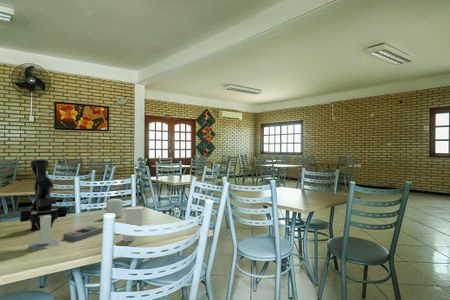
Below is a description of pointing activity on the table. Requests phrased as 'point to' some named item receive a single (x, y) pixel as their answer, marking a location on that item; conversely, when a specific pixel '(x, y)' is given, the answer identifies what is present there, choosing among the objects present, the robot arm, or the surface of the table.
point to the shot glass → (128, 238)
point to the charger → (45, 229)
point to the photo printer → (114, 207)
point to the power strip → (82, 233)
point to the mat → (43, 245)
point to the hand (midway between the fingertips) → (45, 229)
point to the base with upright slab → (134, 216)
